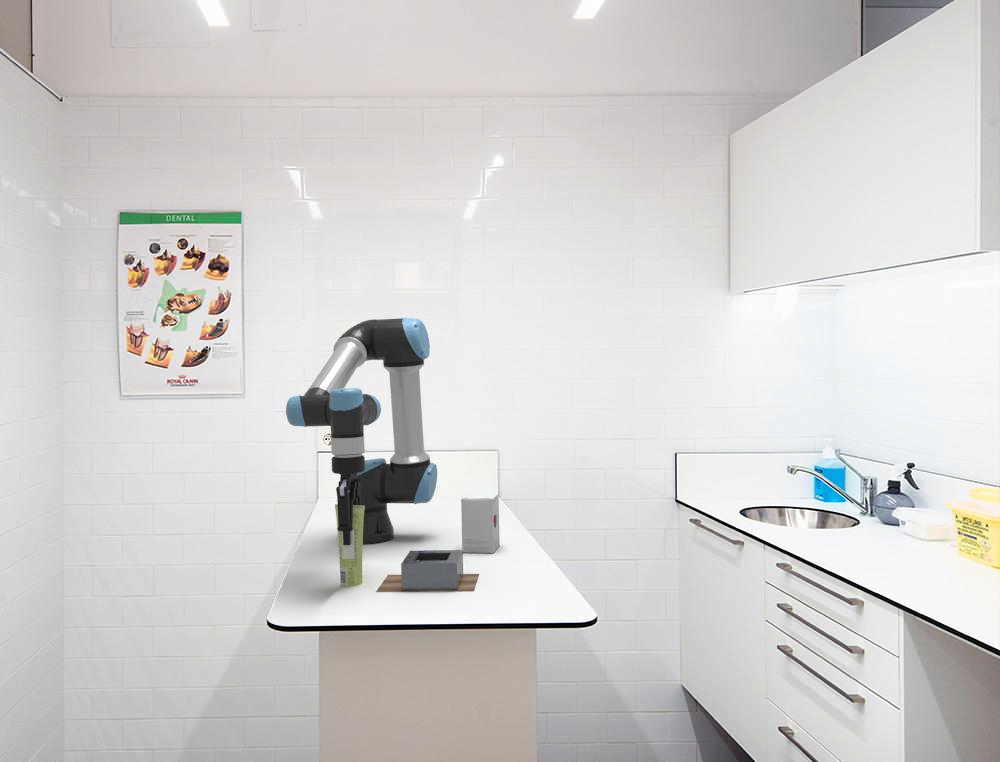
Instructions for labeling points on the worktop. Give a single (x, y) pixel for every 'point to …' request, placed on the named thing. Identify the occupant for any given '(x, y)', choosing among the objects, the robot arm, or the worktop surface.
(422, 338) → the robot arm
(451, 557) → the collar
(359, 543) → the tube
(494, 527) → the supplement box
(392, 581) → the base plate
